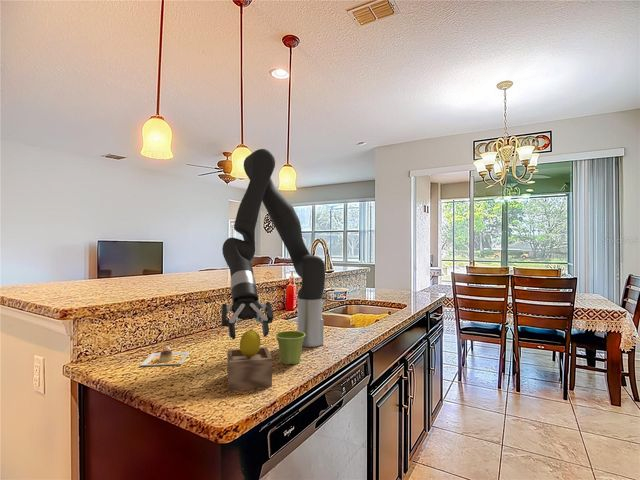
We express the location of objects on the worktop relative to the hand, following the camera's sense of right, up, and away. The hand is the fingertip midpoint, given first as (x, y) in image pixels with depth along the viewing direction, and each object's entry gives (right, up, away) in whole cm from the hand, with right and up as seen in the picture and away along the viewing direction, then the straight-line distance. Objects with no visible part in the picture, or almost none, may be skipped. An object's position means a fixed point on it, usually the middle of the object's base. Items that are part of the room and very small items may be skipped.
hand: (250, 336), depth 94 cm
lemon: (-1, -7, +1) cm, 7 cm away
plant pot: (+9, -13, +16) cm, 23 cm away
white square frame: (-30, -13, +17) cm, 37 cm away
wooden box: (-1, -12, +1) cm, 13 cm away
